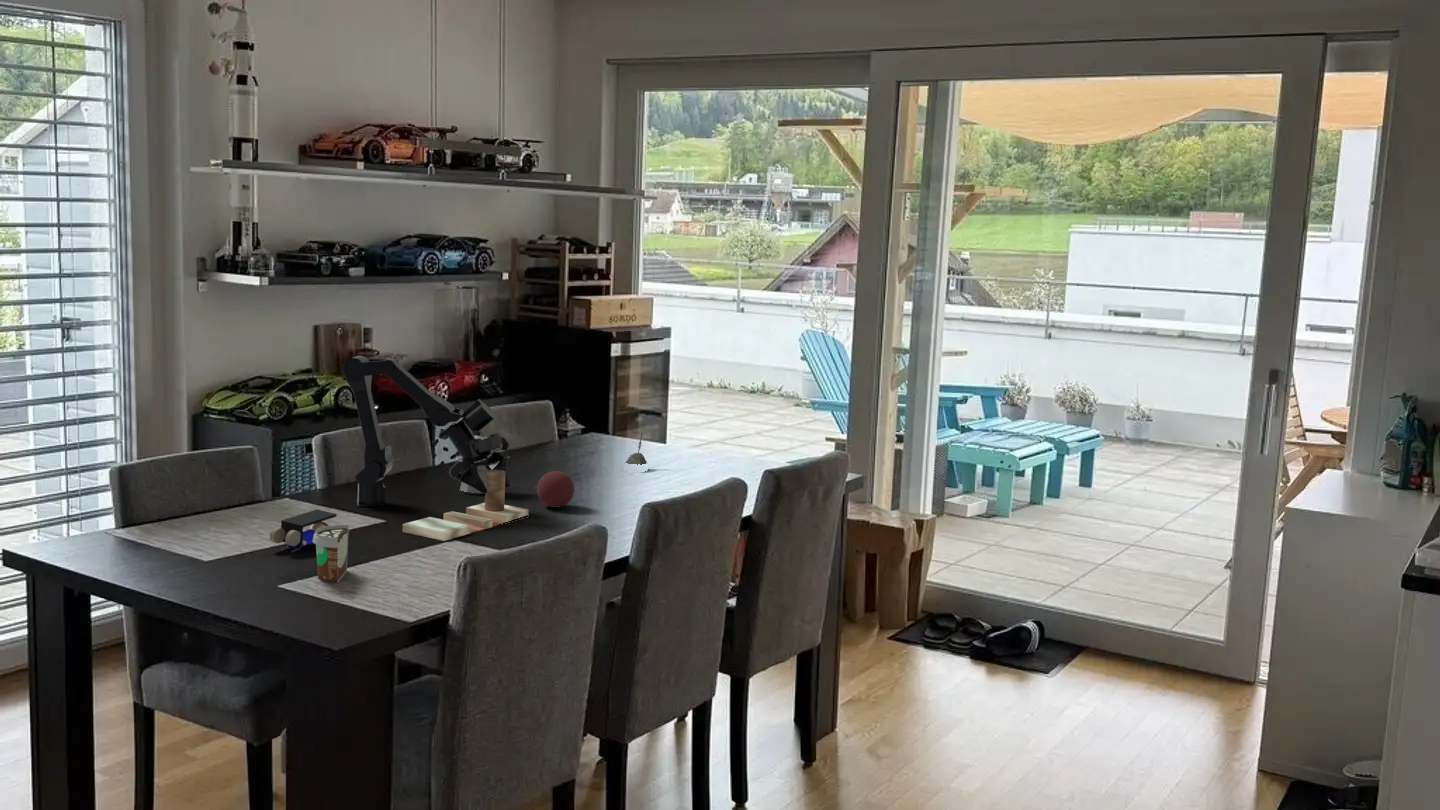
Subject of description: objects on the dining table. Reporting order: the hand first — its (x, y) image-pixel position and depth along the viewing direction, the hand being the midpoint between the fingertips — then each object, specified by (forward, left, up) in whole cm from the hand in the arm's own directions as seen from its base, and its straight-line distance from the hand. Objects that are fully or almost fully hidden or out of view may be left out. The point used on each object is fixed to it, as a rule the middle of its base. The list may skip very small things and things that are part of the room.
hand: (497, 490), depth 331 cm
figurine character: (-48, -24, -8) cm, 55 cm away
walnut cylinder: (-1, +1, -5) cm, 5 cm away
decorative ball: (+18, +10, -7) cm, 21 cm away
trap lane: (-8, -7, -7) cm, 13 cm away
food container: (-44, -49, -7) cm, 67 cm away
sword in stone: (+55, +59, -8) cm, 81 cm away
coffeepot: (+1, +31, -7) cm, 32 cm away
